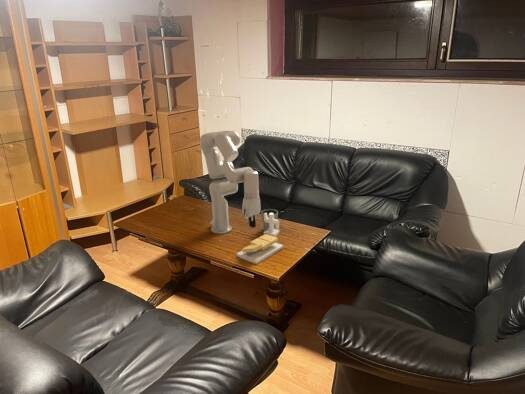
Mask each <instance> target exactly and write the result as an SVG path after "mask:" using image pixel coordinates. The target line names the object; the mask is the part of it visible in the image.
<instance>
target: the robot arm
mask: <svg viewBox="0 0 525 394" xmlns="http://www.w3.org/2000/svg"><path fill="white" fill-rule="evenodd" d="M240 143H241V138H240V135H239V134H238V133H237V131H234V130H221V131H212V132H207V133H203V134H202V135H201V136H200V137H199V147H200V149H201V151H202V153H203V156H204V159H205V164H206V169H207V172H208V176H209V178H210V179H212V180H213V179H214V181H213V182H211V183H210V184H209V187H208V189H209V194H210V197H211V199H210V200H211V209H212V219H211V221H210V222H209V224H210V225H212V227H211V229H210V231H211V232H212V233H214V234H218V235H220V234H221V235H222V234H227V233H229V232H231V231H232V229H233V228H232V226H231V225H230V221H229V204H228V200H227V199H226V198H225V197H224V196H228V195H232V194H236V193H237V192H238V191H239V184H240V183H243V194H244V195H243V196H244V197H243V199H242V206H241V213H242V214H241V215H242V216H244V220H248V225H249V228H253V229H254V228H256V227H257V225H256V220H257V217H258V216H259V215H260V214H261V212H262V209H261V208H262V207H261V198H260V190H259V189H260V186H259V185H260V183H259V173H258V171H256V170H254V169H252V167H250V166H244V167H238V168H235V166H234V164H233V161H234V160H235V159H236V158H237V157H238V156H239V151H238V148H236V146H238V145H240ZM216 148H217V149H218V150H219V152H220V153H221V156H222V157H223V160H221V157H220V153H219V152H218V151H217V150H216ZM220 178H221V179H220ZM222 178H224V179H222ZM215 179H219V180H215Z"/></svg>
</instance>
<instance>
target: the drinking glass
mask: <svg viewBox="0 0 525 394" xmlns="http://www.w3.org/2000/svg"><path fill="white" fill-rule="evenodd" d="M264 213H267V217H268V218H269V213H274V219H276V220H279V219H278V218H279V217H278V216H279V211H278V210H276V209H272V208H268V209H264V210H263V209H262V210H261V211H260V214H261V218H262V230H263V232H265V231H266V230H267V229H268V228H269V223H267V222H265V221H264ZM274 229H276V224H274Z"/></svg>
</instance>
